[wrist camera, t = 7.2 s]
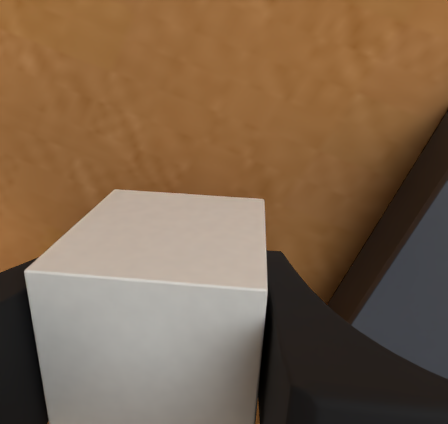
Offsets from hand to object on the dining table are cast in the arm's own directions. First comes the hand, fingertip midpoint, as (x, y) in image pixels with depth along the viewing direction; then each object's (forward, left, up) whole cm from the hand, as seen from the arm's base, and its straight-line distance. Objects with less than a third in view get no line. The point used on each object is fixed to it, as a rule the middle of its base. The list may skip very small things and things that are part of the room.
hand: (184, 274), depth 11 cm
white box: (0, 0, -1) cm, 1 cm away
